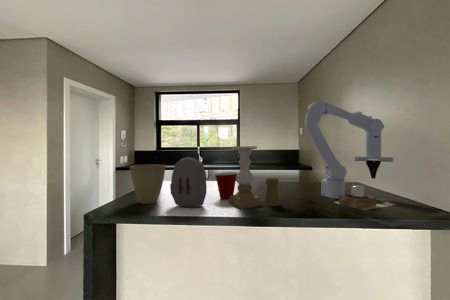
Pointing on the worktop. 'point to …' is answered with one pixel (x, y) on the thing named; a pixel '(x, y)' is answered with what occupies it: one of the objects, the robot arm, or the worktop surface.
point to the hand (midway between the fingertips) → (373, 178)
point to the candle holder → (244, 182)
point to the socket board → (361, 202)
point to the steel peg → (357, 191)
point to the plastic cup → (226, 184)
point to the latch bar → (381, 200)
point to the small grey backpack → (188, 183)
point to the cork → (272, 192)
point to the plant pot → (147, 181)
